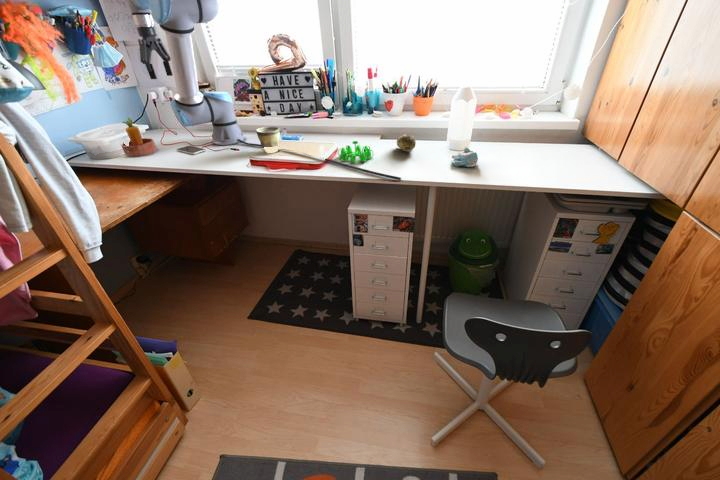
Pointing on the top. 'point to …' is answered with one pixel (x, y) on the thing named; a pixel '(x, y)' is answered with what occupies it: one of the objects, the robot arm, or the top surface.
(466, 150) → the stuffed animal
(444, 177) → the top surface
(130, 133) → the carrot
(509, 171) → the top surface
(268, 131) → the ceramic cup
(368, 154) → the chandelier
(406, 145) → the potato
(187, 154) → the top surface
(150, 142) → the bowl
